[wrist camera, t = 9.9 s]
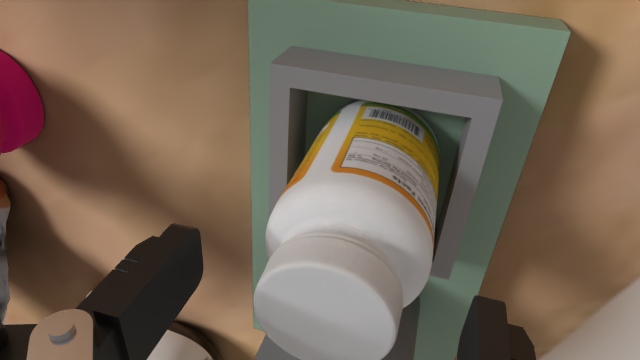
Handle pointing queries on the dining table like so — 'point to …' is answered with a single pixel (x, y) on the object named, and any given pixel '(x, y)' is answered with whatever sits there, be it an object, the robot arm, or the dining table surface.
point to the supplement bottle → (352, 236)
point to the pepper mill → (17, 106)
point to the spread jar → (183, 345)
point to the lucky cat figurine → (4, 249)
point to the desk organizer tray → (422, 97)
